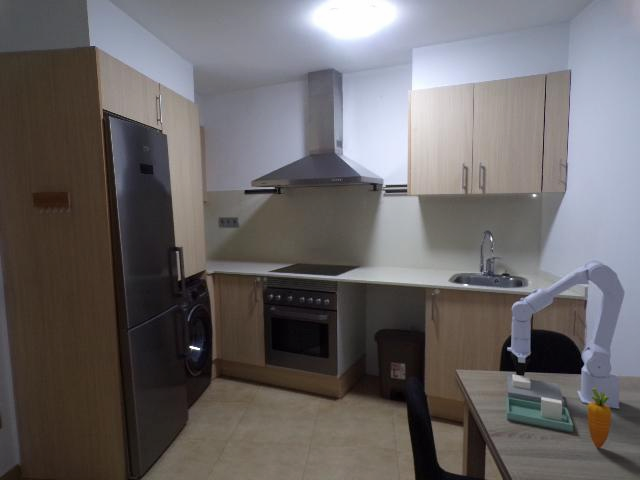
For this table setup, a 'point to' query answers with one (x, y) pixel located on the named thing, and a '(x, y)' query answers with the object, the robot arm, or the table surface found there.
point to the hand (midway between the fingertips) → (520, 375)
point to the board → (534, 391)
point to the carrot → (599, 419)
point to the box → (536, 415)
